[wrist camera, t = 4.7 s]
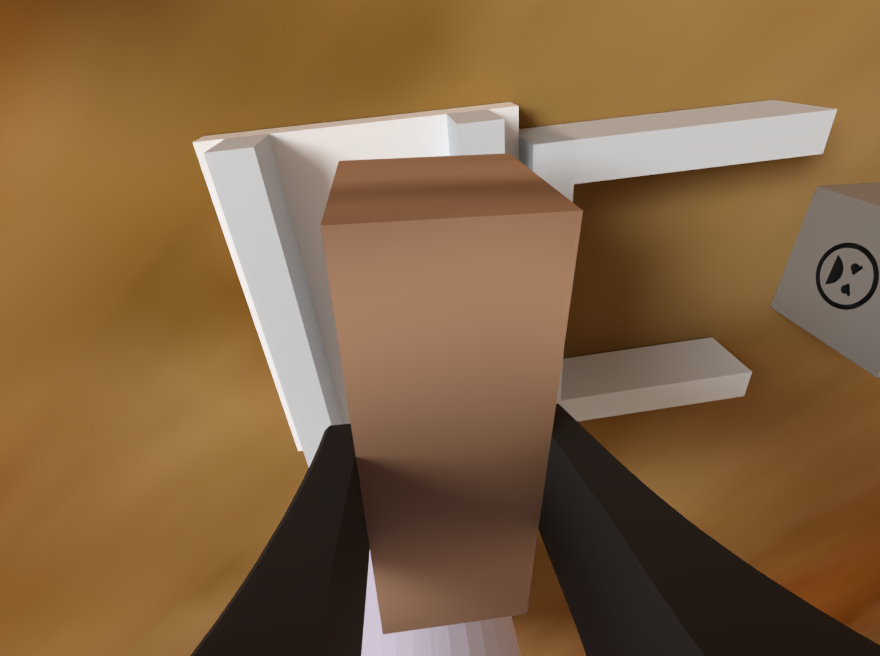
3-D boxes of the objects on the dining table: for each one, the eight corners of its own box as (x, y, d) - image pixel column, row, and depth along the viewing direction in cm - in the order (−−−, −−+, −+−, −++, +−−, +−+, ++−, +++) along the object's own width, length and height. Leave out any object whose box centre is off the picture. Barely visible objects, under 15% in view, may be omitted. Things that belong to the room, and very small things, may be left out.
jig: (702, 374, 21) (747, 419, 19) (301, 434, 20) (290, 490, 18) (780, 71, 15) (863, 78, 12) (203, 136, 14) (165, 157, 11)
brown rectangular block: (338, 160, 9) (320, 225, 6) (509, 153, 10) (583, 210, 6) (380, 497, 15) (383, 634, 11) (491, 484, 15) (526, 614, 12)
